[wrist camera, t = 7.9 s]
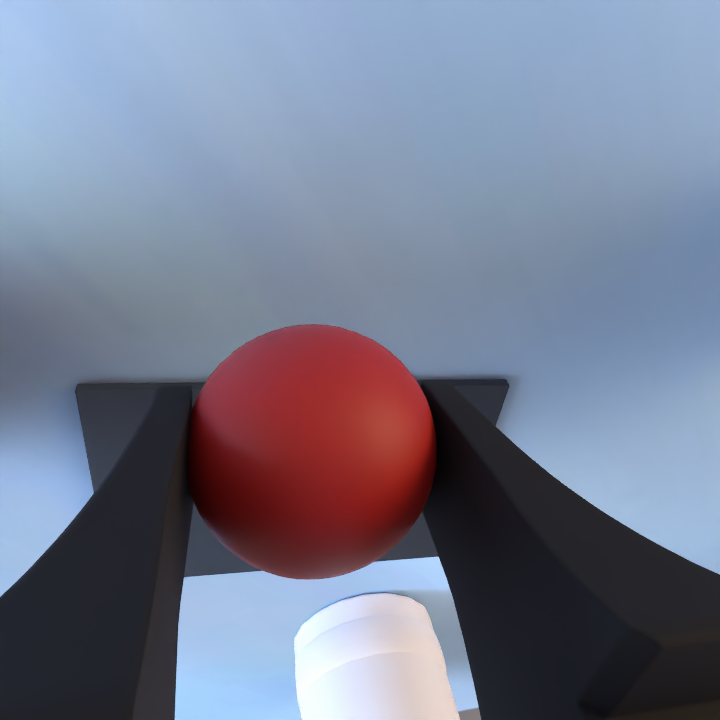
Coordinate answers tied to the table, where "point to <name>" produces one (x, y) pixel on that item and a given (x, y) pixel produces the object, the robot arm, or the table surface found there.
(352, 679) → the bottle
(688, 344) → the table surface
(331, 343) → the ball
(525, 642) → the robot arm
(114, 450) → the mat
